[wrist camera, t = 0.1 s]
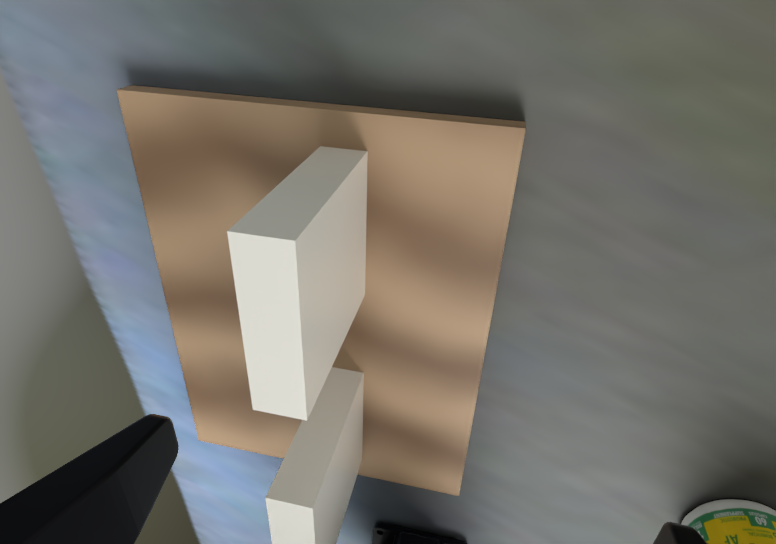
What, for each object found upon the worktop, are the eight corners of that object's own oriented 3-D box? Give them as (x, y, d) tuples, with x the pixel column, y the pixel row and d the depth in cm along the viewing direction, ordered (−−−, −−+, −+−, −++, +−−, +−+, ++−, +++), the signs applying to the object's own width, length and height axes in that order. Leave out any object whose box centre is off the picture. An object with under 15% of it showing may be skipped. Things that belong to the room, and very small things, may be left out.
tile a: (362, 459, 30) (318, 598, 24) (328, 452, 31) (275, 587, 24) (363, 372, 27) (312, 508, 20) (325, 365, 27) (261, 497, 20)
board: (460, 481, 31) (458, 496, 30) (206, 428, 34) (198, 440, 33) (525, 121, 19) (526, 128, 19) (131, 85, 22) (116, 89, 21)
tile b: (365, 294, 24) (307, 420, 17) (321, 287, 24) (248, 408, 18) (367, 151, 20) (295, 241, 14) (317, 145, 21) (222, 230, 14)
